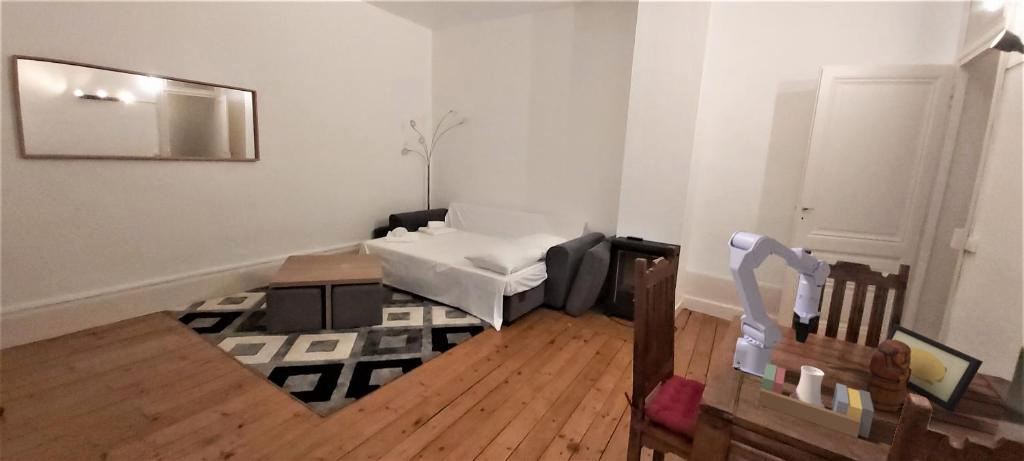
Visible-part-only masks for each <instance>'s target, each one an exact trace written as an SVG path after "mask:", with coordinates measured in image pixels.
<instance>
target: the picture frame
mask: <svg viewBox="0 0 1024 461" xmlns="http://www.w3.org/2000/svg"><path fill="white" fill-rule="evenodd" d="M885 340H898V341H901V342H903V343H905V344H907V345H908V346H909V347H910V349H911V353H910V355H911V362H910V366H909V368H910V369H911V375H910V379H909V382H907V383H906V387H908V388H910V389H912V390H914V391H915V392H918V394H920V395H923V396H924V397H926V398H928V399H930V400H931V401H933V402H934V403H937V405H940V406H942V407H943V408H945V409H947V410H949V411H951V412H954V411H955V409H956V408H957V407H958V405H959V403H960V401H961V400H962V398H963V396H964V395H965V393H966V392H967V389H968V387H969V386H970V384H971V383H972V381H973V380H974V377H976V374H977V373H978V371H979V369H980V368H981V366H982V365H983V362H984V361H983V360H980V359H978V358H975V357H973V356H971V355H968V354H967V353H964V352H962V351H959V350H957V349H954V347H953V348H952V347H950V346H949V345H946V344H943V343H941V342H938V341H937V340H934V339H932V338H929V337H927V336H924V335H922V334H919V333H918V332H915V331H913V330H911V329H908V328H906V327H904V326H901V325H900V324H896V323H894V324H893V325H892V328H891V330H890V331H889V333H888V335H887V337H886V338H885Z"/></svg>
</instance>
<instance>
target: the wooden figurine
mask: <svg viewBox="0 0 1024 461" xmlns="http://www.w3.org/2000/svg"><path fill="white" fill-rule="evenodd" d="M910 353H911V349H910V347H909V346H908V345H907V344H905V343H903V342H901V341H898V340H886V339H885V340H884V341H882V342H881V343H880V344H879V345H878V346H877V351H875V352H874V353H873V355H872V356H871V358H870V364H869V370H870V376H869V379H868V380H867V381H868V382H867V386H866V390H865V391H866V392H870V397H871V401H872V405H873V409H877V410H881V411H884V412H885V411H886V412H897V411H898V410H899V409H901V408H902V407H903V406H902V405H903V404H905V399H906V397H907V385H906V383H907V382H909V379H910V375H911V369H910V368H909V366H910V362H911V355H910Z"/></svg>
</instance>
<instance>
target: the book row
mask: <svg viewBox="0 0 1024 461" xmlns="http://www.w3.org/2000/svg"><path fill="white" fill-rule="evenodd" d="M785 375H786V368H784V367H780V366H777V365H775V364H772V363H770V364H768V363H767V364H766V367H765V371H764V375H763V377H762V380H761V386H760V391H759V396H758V405H760V406H762V407H765V408H767V409H771V410H774V411H776V412H780V413H783V414H785V415H788V416H791V417H793V418H797V419H801V420H803V421H806V422H809V423H812V424H814V425H815V424H816V425H818V426H819V427H820V426H821V427H823V428H827V429H830V430H833V431H836V432H839V433H841V434H844V435H848V436H851V437H853V438H855V439H858V436H859V437H863V438H866V439H869V436H870V431H871V428H872V422H873V418H874V413H875V411H874V409H875V408H874V407H873V405H872V401H871V397H870V392H866V390H863V389H853V388H850V387H847V385H845V384H841V383H838V382H836V384H835V389H834V393H833V398H832V403H831V409H828V408H822V407H819V406H816V405H813V404H810V403H807V402H804V401H800V400H797V399H794V398H791V397H789V396H788V395H784V394H782V393H783V387H784V383H785Z"/></svg>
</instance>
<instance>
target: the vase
mask: <svg viewBox="0 0 1024 461" xmlns="http://www.w3.org/2000/svg"><path fill="white" fill-rule="evenodd" d="M800 369H801V370H800V371H801V372H800V378H799V382H798V384H797V387H796V389H795V390H794V392H793V393H790V395H789V396H788V397H791V398H794V399H797V400H800V401H804V402H807V403H810V404H813V405H816V406H819V407H822V408H825V405H824V404H823V400H822V394H821V393H822V392H821V388H822V381H823V378H824V376H825V373H824V371H823V370H821V369H819V368H817V367H814V366H811V365H802V366H801V367H800Z"/></svg>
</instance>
